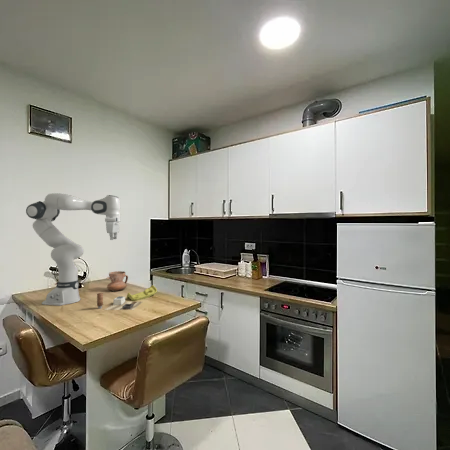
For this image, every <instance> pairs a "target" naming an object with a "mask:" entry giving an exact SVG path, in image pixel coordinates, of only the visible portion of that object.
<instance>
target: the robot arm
mask: <svg viewBox="0 0 450 450" xmlns="http://www.w3.org/2000/svg"><path fill="white" fill-rule="evenodd" d="M61 211H91V212H92V213H94V214H96V215H100V216H105V218H104V221H105V227H106V228H105V229H106V232H107V234H108V236H109V240H110V241H113V240H117V237H118V233H119V232H120V223H119V222H121V213H120V211H121V201H120V197H119V196H116V195H110V194H107V195H106V196H104V197H103V198H101V199H97V200H94V201H89V200H86V199H82V198H79V197H77V196H73V195H71V194H66V193H55V192H54V193H48V194H47V195H46V196H45V198H44V201H36V202H33V203H31V204H29V205H27V207H26V210H25V213H26V215H27V216H28V217H29V218H31V219H32V220H35V221H34V222H32V228H33V230H34V231H35V233H36V234H37V235H38V237H40V239H41V240H43V242H44V243H45V244H46V245H47V246H49V247H50V248H53V249H52V250H51V252H50V257H51V259H52V260H53V261H54V262H55V264H56V266H57V269H58V281H57V282H55V283H54V286H55V287H54V288H53V289H52V290H51V291H49V292H48V293H47V295H46V298H45V300H43V301H42V302H41V305H46V306H49V305H50V306H59V307H60V306H64V305H70V304H74V303H77V302H80V301H81V297H80V291H79V278H78V277H79V276H78V275H79V273H78V271H79V269H78V267H77V266H76V264H75V262H74V260H77V259H79V258H80V257H82V256H83V254H84V252H85V250H84V247H83V246H82V245H80V244H77V243H76V242H74V241H72V240H71V238H68V237H67V236H65V235H64V234H63V232H61V231H60V230H59V229H58V228H57V226H55V225H54V224H53V222H54V221H56V219H57V217H59V216H60V213H61Z"/></svg>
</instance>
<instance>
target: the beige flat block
mask: <svg viewBox="0 0 450 450" xmlns="http://www.w3.org/2000/svg"><path fill="white" fill-rule="evenodd" d="M142 303H143V301H125V303H123V304H122V305H113V303H112V304H110V305H109V306H107V307H106V308H104V309H103V310H104V311H105V310H106V311H109V310H110V311H113V310H114V311H117V310H118V311H134V310H135V309H137V308H138V306H140V305H141V304H142Z"/></svg>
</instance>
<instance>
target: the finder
mask: <svg viewBox="0 0 450 450" xmlns="http://www.w3.org/2000/svg"><path fill="white" fill-rule="evenodd" d="M125 302H126V296H117V297H115V298H113V303H112V304H113V305H122V304H123V303H125Z"/></svg>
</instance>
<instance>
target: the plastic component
mask: <svg viewBox="0 0 450 450" xmlns="http://www.w3.org/2000/svg"><path fill="white" fill-rule="evenodd" d="M157 292H158V289H157V287H156V286H155V285H151V286H150V287H148V288H146V289H144V291H141V292H137V293H135V294H131V293H130V292H127V295H126V296H125V299H130V300H131V302H139V301H141V300H145V299H148V298H150V297H152V296H154V295H155V294H156V293H157Z"/></svg>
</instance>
